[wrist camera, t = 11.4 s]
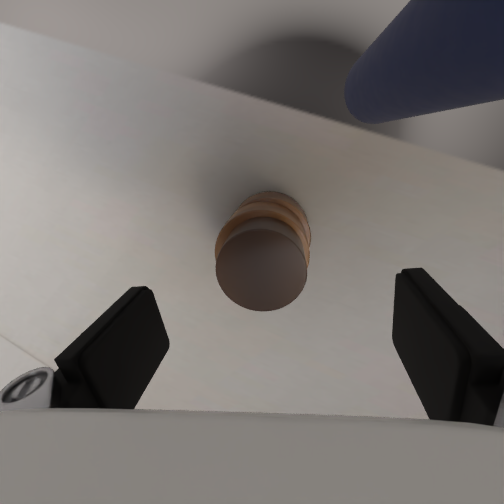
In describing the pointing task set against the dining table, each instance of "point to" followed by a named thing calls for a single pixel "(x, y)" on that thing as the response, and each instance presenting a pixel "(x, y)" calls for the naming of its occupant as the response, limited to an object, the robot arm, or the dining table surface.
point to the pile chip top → (263, 211)
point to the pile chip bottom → (283, 201)
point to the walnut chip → (262, 264)
